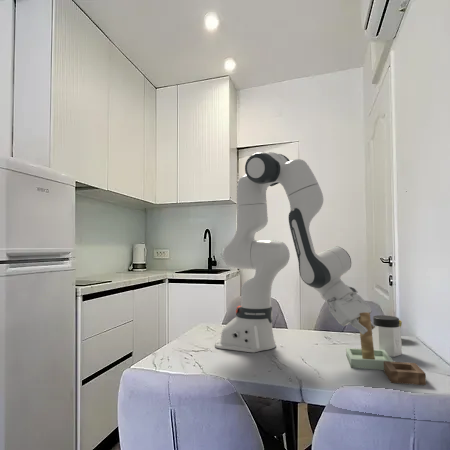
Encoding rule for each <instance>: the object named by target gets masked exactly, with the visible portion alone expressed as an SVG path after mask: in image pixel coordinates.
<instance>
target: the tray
mask: <svg viewBox="0 0 450 450" xmlns="http://www.w3.org/2000/svg"><path fill="white" fill-rule="evenodd" d="M345 352H346V353H345V354H346V358H347V361H348V363H349V366H350V368H353V369H369V370H382V371H384V361H389V362H395V361H394V360H393V358H392V357H391V356H389V355H388V354H387V352H386V351H385V350H374V356H375V359H362V349H361V348H356V347H355V348H352V347H345Z"/></svg>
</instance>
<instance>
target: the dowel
mask: <svg viewBox="0 0 450 450" xmlns="http://www.w3.org/2000/svg"><path fill="white" fill-rule="evenodd" d="M359 314H360V317H359V318H358V321H359V323H360V324H361V325H362V326H365V327H366V329H367V330H368V331H367V332H366V333H365V334H361V332H360V331H359V336H360V339H359V340H360V345H361V346H360V347H361V348H360V349H362V359H375V356H374V347H373V336H372V328H371V321H372V319H371V313H368V312H363V313H359Z"/></svg>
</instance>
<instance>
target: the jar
mask: <svg viewBox="0 0 450 450" xmlns="http://www.w3.org/2000/svg"><path fill="white" fill-rule="evenodd" d="M399 320H400V318H399V317H397V316H393V315H383V314H380V315H373V317H372V323H373V324H374V325H375V328H374V329H373V330H372V337H373V347H374V350H385V351H386V352H387V354H388V355H389V356H390V357H391V358H392V357H393V358H395V357H398V356H401V355H402V354H403V350H402V349H403V348H402V325H401V326H399Z"/></svg>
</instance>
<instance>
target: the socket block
mask: <svg viewBox="0 0 450 450" xmlns="http://www.w3.org/2000/svg"><path fill="white" fill-rule="evenodd" d="M383 373H384V374H385V375H386V378H388V380H389V381H390V383H391V384H406V385H417V386H427V381H426V380H427V379H426V378H427V377H426V375H427V374H426V372H425V371H424V370H423V369H422V368H421V367H420V366H419V365H418V364H417V363H415V362H406V361H405V362H401V361H394V362H389V361H384V370H383Z"/></svg>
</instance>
